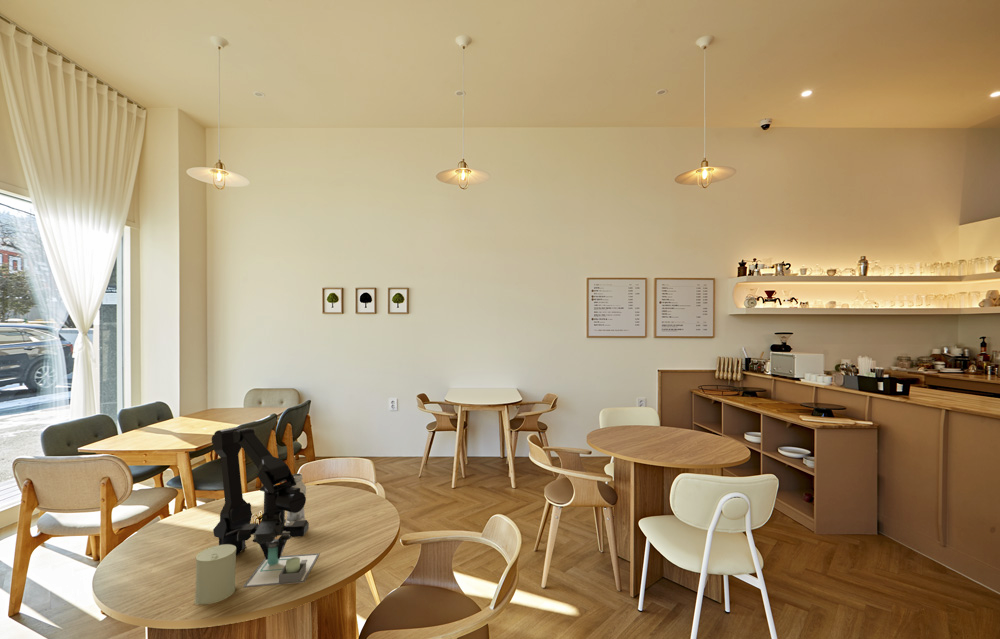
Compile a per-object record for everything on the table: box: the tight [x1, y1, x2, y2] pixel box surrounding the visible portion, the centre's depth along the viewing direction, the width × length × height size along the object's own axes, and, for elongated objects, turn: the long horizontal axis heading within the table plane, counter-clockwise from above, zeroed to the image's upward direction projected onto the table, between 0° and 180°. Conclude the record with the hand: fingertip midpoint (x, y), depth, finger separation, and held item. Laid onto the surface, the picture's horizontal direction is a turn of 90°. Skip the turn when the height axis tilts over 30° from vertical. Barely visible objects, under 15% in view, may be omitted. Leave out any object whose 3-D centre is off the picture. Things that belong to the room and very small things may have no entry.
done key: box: [286, 557, 300, 574], centre depth 122 cm, size 4×4×3 cm
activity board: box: [242, 553, 320, 588], centre depth 127 cm, size 16×16×3 cm
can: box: [194, 544, 237, 606], centre depth 115 cm, size 9×9×12 cm
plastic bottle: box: [285, 473, 307, 526], centre depth 153 cm, size 6×7×20 cm
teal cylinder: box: [268, 538, 279, 565], centre depth 130 cm, size 3×3×6 cm
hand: (273, 558), depth 130 cm, fingers closed on teal cylinder, 3 cm apart
